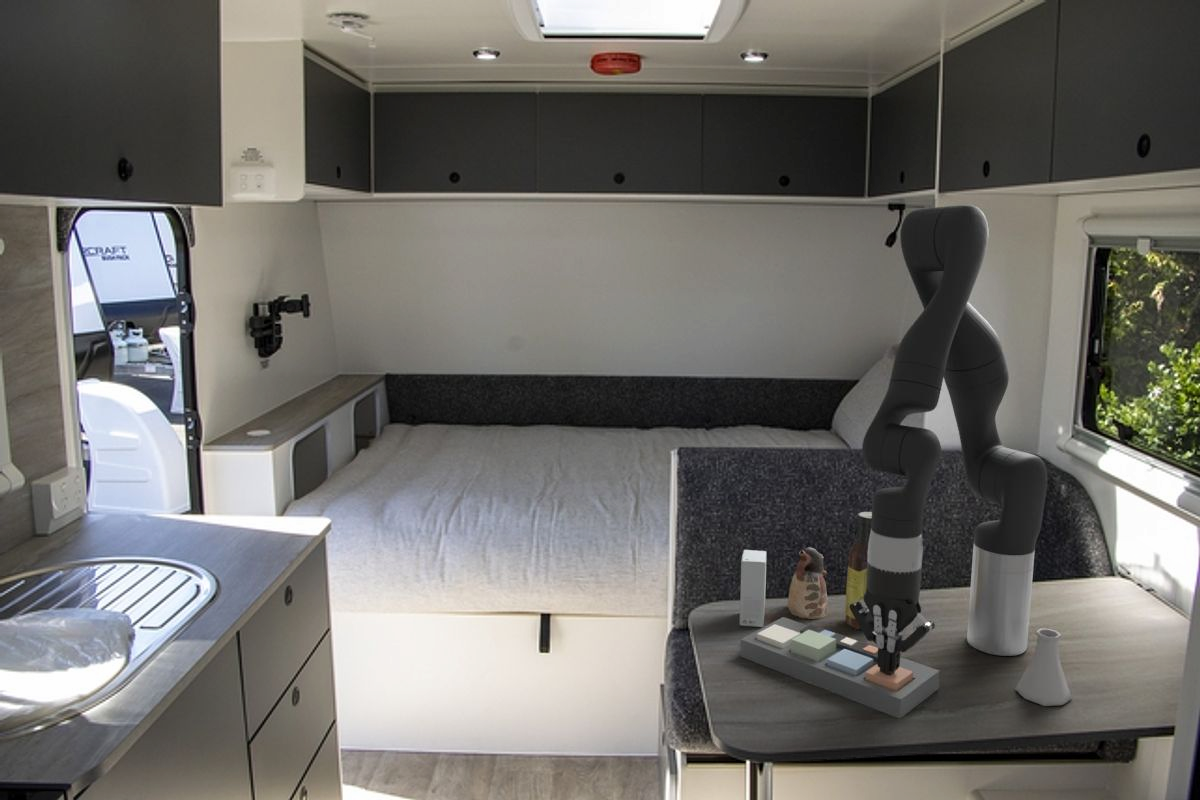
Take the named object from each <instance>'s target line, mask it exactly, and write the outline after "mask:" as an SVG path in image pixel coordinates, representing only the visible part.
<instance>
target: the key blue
mask: <svg viewBox="0 0 1200 800" xmlns="http://www.w3.org/2000/svg"><path fill="white" fill-rule="evenodd" d="M827 666H830V667H832V668H835V669H838V670H840V671H843V672H846V673H848V674H851V675H854V676H859V675H860V674H862V673H863V672H865V671H866V670H868V669H869V668H871V667H872V666H873V659H872V658H870V657H867V656H864V655H861V654H858V653H855V652H852V651H850V650H847V649H843V650H841V651H840V652H838V653H837V654H835V655H833V656H832V657H830V658H828V659H827Z"/></svg>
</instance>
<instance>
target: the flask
mask: <svg viewBox="0 0 1200 800" xmlns="http://www.w3.org/2000/svg"><path fill="white" fill-rule="evenodd" d="M1035 635H1036V637H1037V641H1036V646H1035V650H1034V652H1033V656H1032V657H1031V659H1030V661H1029V663H1028V664H1027V667H1026V669H1025V671H1024V672H1023V674H1022V676H1021V678H1020V680H1019V681H1018V683H1017V685H1016V687H1015V689H1014V690H1015V691H1016V692H1018V694H1020V696H1022V697H1023V699H1025V700H1028V701H1030V702H1033V703H1036V704H1039V705H1040V706H1044V707H1050V706H1052V707H1053V706H1064V705H1065V704H1066V703H1068V702H1069V701H1070V700H1072V695H1071V692H1070V689H1069V685H1068V684H1067V680H1066V676H1065V673H1064V671H1063V668H1062V667H1063V666H1062V664H1061V661H1060V653H1059V640H1060V639H1061V637H1062V635H1061V634H1060V632H1058V631H1057V630H1054V629H1050V628H1047V627H1046V628H1038V629H1037V630H1036V631H1035Z"/></svg>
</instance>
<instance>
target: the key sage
mask: <svg viewBox="0 0 1200 800" xmlns="http://www.w3.org/2000/svg"><path fill="white" fill-rule="evenodd" d="M791 652H792V653H794V654H797V655H800V656H802V657H805V658H808V659H811V660H813V661H816V662H821V661H823V660H824V659H826V658H827V657H829V656H831V655H832V654H834V653H836V639H835V638H832V637H829V636H826V635H823V634H820V633H818V632H815V631H812V630H807V631H805V632H804V633H802V634H800V635H798V636H796V637H795V638H793V639H791Z"/></svg>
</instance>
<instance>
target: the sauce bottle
mask: <svg viewBox="0 0 1200 800" xmlns="http://www.w3.org/2000/svg"><path fill="white" fill-rule="evenodd" d="M871 520H872V511H862V512H859V513H858V514H857V523H858V525H857V535H856V537H857V538H856V541H855V542H854V543H853V545H852V546H851V547H850V550H849V555H848V556H849V557H848V565H847V575H846V577H847V578H846V589H845V590H846V592H845V594H846V595H845V605H844V606H845V608H844V609H845V610H844V613H845V622H846V624H847V625H848V626H850V627H852V628H855V629H858V630H861V628H860V626H859V624H858V623H857V621H856V619H855V617H854V615H853V614H852V612H851V610H850V608H849V606H850V604H852V603H854V602H855V601H858V600H860V599H861V600H862V599H863V597H864V594H865V592H866V591H867V587H866V577H867V559H868V555H867V551H868V543H869V538H870V533H871Z"/></svg>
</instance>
